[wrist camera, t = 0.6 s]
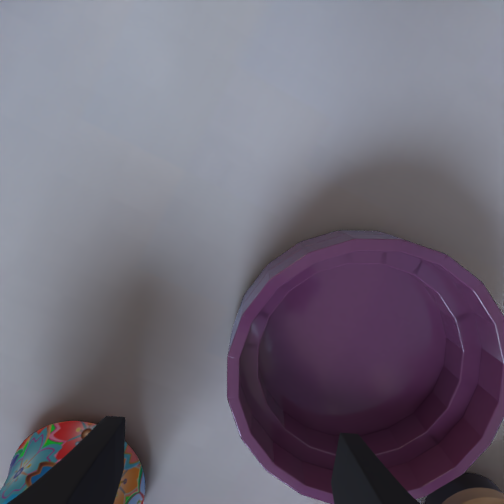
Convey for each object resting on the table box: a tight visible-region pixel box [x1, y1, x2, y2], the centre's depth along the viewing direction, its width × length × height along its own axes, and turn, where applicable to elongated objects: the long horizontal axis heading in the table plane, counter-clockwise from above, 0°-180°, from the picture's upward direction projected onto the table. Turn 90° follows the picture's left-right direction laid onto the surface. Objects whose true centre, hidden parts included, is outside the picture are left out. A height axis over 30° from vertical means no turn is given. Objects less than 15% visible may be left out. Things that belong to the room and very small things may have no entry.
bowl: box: [227, 230, 504, 504], centre depth 22 cm, size 14×14×4 cm
